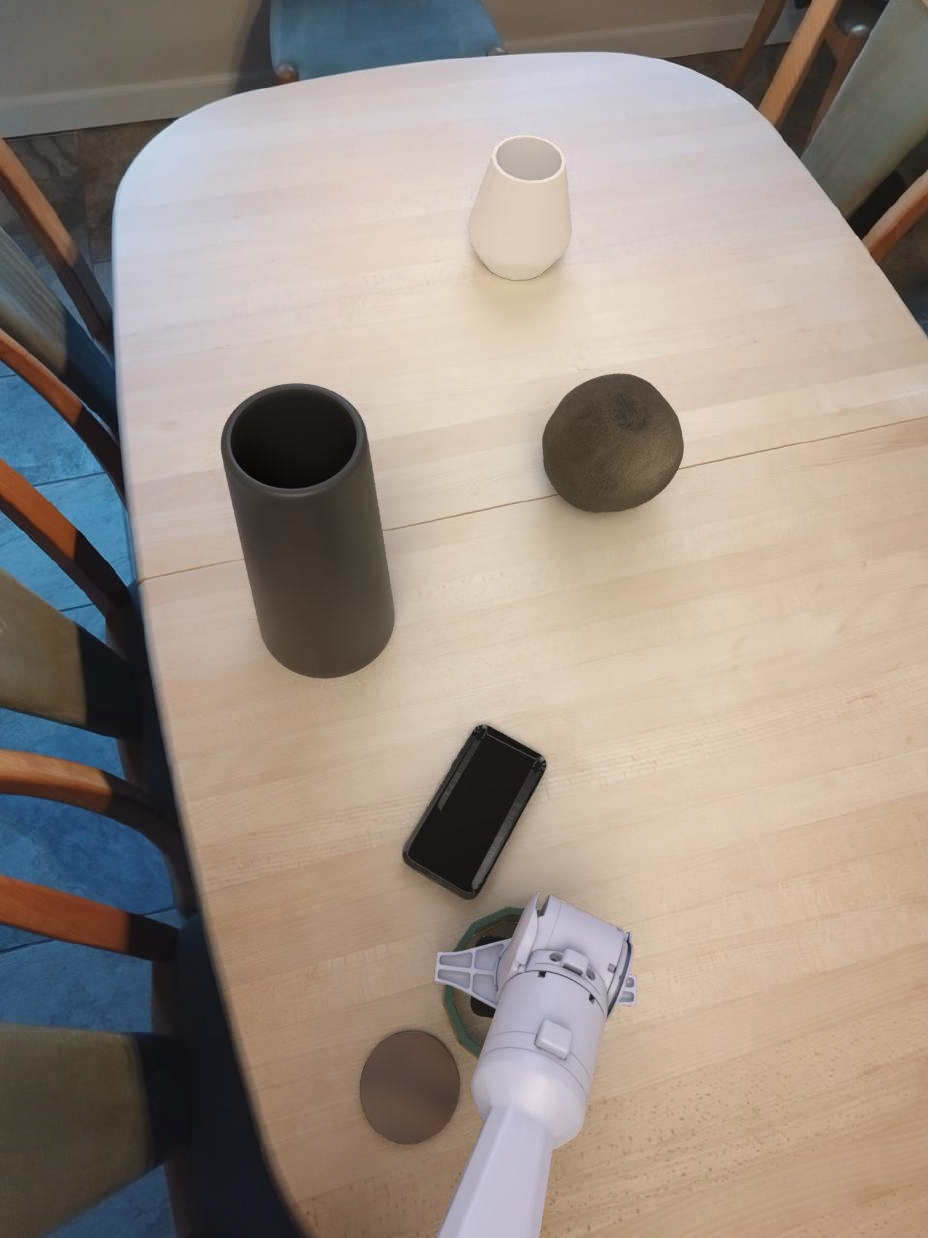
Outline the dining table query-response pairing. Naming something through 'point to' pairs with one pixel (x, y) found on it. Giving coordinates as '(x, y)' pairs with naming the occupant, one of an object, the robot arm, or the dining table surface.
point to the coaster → (409, 1087)
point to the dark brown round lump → (612, 444)
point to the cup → (522, 209)
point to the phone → (474, 812)
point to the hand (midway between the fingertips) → (521, 987)
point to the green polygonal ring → (478, 926)
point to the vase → (309, 528)
